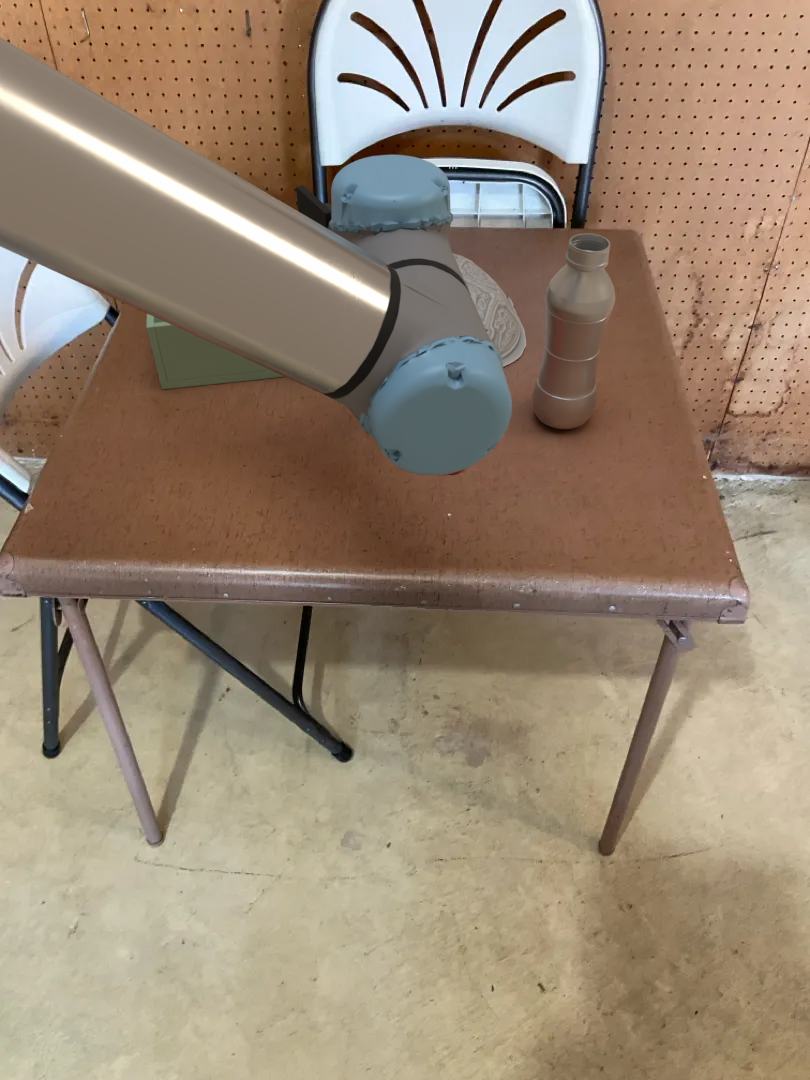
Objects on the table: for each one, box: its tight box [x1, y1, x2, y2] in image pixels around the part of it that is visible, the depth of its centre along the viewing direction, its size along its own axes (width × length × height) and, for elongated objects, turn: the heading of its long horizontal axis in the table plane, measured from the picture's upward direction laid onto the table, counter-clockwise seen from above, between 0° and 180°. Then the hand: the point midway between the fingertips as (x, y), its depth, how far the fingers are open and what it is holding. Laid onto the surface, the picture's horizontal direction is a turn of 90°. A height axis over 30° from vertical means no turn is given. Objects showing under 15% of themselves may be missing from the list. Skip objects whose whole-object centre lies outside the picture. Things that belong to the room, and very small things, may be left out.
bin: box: [145, 313, 286, 390], centre depth 98 cm, size 17×17×8 cm
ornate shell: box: [453, 253, 527, 368], centre depth 103 cm, size 16×25×7 cm, turn 17°
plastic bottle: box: [531, 232, 616, 430], centre depth 83 cm, size 6×7×20 cm
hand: (236, 214), depth 81 cm, fingers open, 13 cm apart
